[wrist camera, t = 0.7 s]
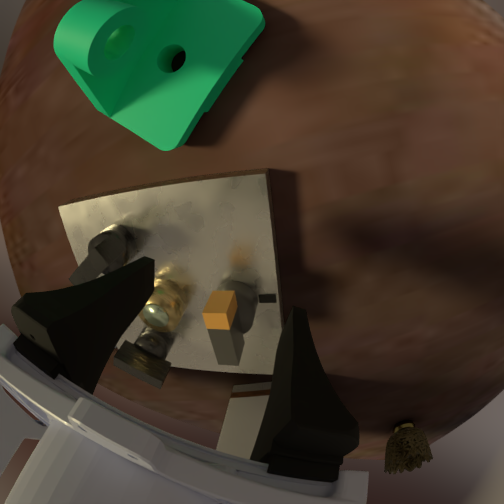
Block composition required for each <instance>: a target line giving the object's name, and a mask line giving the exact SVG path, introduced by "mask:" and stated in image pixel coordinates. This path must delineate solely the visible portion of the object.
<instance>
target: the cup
mask: <svg viewBox="0 0 504 504" xmlns="http://www.w3.org/2000/svg"><path fill="white" fill-rule="evenodd" d="M393 433H394V434H393V435H392V436H391V437H390V438H389V440H388V442H387V446H386V453H385V470H384V472H385V473H386V472H387V471H388V472H389V474H391V472H393V474H396V472H397V470H398V469H399V471H400V473H402V472H403V471H404V469H406V470H407V471H412V470H414V468H416V466H417V468H421V466H422V461H425V460H426V461H427V462H430V459H433V457H432V454H431V450H430V447H429V444H428V441H427V438H426V436H425V434H424V432H423V431H422V430H421V429H419V428H416V427H415V424H414V422H413V421H411V420H406V421H402V422H400V423H398V424H396V425H395V426H394V428H393Z"/></svg>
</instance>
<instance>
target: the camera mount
mask: <svg viewBox="0 0 504 504" xmlns="http://www.w3.org/2000/svg"><path fill="white" fill-rule="evenodd" d="M264 27H265V20H264V17H263V15H262V13H261V11H260V9H259V8H257V7H256V6H254V5H252V4H250V3H247V2H245V1H243V0H82V1H80V2H79V3H77V4H76V5H75V6H73V7H72V8H71V9H70V10H69V11H68V12H67V13H66V14H65V16H64V17H63V18H62V20H61V22H60V23H59V25H58V27H57V30H56V33H55V36H54V50H55V53H56V55H57V56H58V58H59V59H60V61H61V62H62V63H63V65H64V66H65V67H66V69H67V70H68V71H69V73H70V74H71V76H72V77H73V78H74V80H75V81H76V82H77V84H78V85H79V86H80V88H81V89H82V90H83V92H84V93H85V94H86V96H87V97H88V98H89V100H90V101H91V102H92V104H93V105H94V106H95V107H96V109H97V110H98V111H100V112H102V113H103V114H105V115H107V116H108V117H110V118H111V119H113V120H115V121H116V122H118V123H119V124H121V125H123V126H124V127H126V128H127V129H129V130H131V131H132V132H134V133H135V134H137V135H138V136H140V137H142V138H143V139H145V140H146V141H148V142H149V143H151V144H152V145H154V146H156V147H157V148H159V149H160V150H163V151H169V150H172V149H175V148H178V147H180V146H182V145H183V144H185V142H186V141H187V139H188V137H189V136H190V134H191V132H192V131H193V129H194V127H195V126H196V124H197V123H198V121H199V119H200V118H201V116H202V115H203V113H204V112H208V111H209V110H210V108H211V107H212V105H213V104H214V102H215V101H216V99H217V98H218V96H219V95H220V93H221V92H222V90H223V89H224V87H225V86H226V84H227V83H228V81H229V80H230V79H231V77H232V76H233V74H234V73H235V72H236V70H237V69H238V68H239V66H240V65H241V63H242V62H243V60H242V59H241V58H242V56H243V55H244V54H245V52H246V51H247V50H248V49H249V47H250V46H251V45H252V43H253V42H254V41H255V40H256V38H257V37H258V36H259V35H260V33H261V32H262V31H263V29H264ZM181 51H185V53H186V60H185V62H184V64H183V66H182V67H181V68H180V69H179V70H177V71H175V72H173V70H172V67H171V64H172V60H173V58H174V57H175V55H176V54H178V53H179V52H181Z"/></svg>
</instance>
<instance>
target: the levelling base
mask: <svg viewBox="0 0 504 504" xmlns="http://www.w3.org/2000/svg"><path fill="white" fill-rule="evenodd" d="M58 208H59V211H60V214H61V218H62V221H63V224H64V227H65V230H66V233H67V236H68V239H69V242H70V244H71V247H72V250H73V253H74V255H75V258H76V261H77V263H78V266H79V267H78V268H77V269H76V270H75V272H74V273H73V274H72V275H71V277H70V278H69V280H70V281H71V283H72V284H73V285H74V286H75V285H79V284H82V283H85V282H88V281H91V280H94V279H96V278H98V277H101V276H103V275H105V274H108V273H110V272H112V271H114V270H117V269H119V268H121V267H123V266H125V265H127V264H129V263H131V262H133V261H135V260H137V259H139V258H141V257H144V256H146V257H149V258H152V259H154V260H155V276H154V291H153V293H152V295H151V297H150V298H149V300H148V302H147V303H146V305H145V306H144V308H143V309H142V310H141V312H140V313H139V314H138V316H137V317H136V318H135V319H134V321H133V322H132V323H131V325H130V326H129V327H128V328H127V330H126V331H125V332H124V334H123V335H122V337H121V338H120V340H119V341H118V343H117V345H116V346H117V348H118V351H117V353H116V354H115V356H114V366H116V367H118V368H120V369H122V370H123V371H125V372H127V373H129V374H131V375H133V376H135V377H137V378H139V379H141V380H143V381H145V382H147V383H149V384H151V385H153V386H155V387H157V388H159V389H161V387H162V385H163V383H164V380H165V378H166V376H167V374H168V372H169V370H170V367H171V366H172V367H180V368H188V369H197V370H207V371H218V372H231V373H248V374H273V369H274V363H275V356H276V350H277V346H278V342H279V339H280V335H281V332H282V330H283V328H284V317H283V305H282V293H281V282H280V272H279V261H278V251H277V241H276V231H275V222H274V212H273V203H272V194H271V185H270V177H269V168H265V169H254V170H244V171H234V172H226V173H217V174H209V175H201V176H194V177H187V178H180V179H174V180H167V181H161V182H155V183H150V184H144V185H138V186H133V187H128V188H123V189H118V190H113V191H108V192H103V193H99V194H94V195H90V196H85V197H81V198H77V199H73V200H70V201H68V202H66V203H64V204H62V205H61V206H59V207H58ZM229 281H238V282H242V283H244V284H246V285H248V286H249V287H251V288H252V289H253V290H254V292H255V293H256V295H257V298H258V305H257V309H256V313H255V317H254V321H253V325H252V327H251V329H250V330H249V331H248V332H247V333H245V334H243V337H244V342H245V344H244V348H243V352H242V355H241V359H240V363H239V366H231V365H218V362H217V359H216V356H215V353H214V350H213V346H212V343H211V340H210V337H209V333H208V330H207V328H206V325H205V322H204V318H203V315H202V312H203V310H204V307H205V305H206V303H207V301H208V299H209V297H210V295H211V293H212V291H216V290H217V288H218V287H219V286H220V285H221V284H223V283H225V282H229Z"/></svg>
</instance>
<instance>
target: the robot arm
mask: <svg viewBox="0 0 504 504" xmlns="http://www.w3.org/2000/svg"><path fill="white" fill-rule="evenodd" d="M154 276H155V260H154V259H152V258H149V257H146V256H144V257H141V258H139V259H137V260H135V261H133V262H131V263H129V264H127V265H125V266H123V267H121V268H119V269H117V270H114V271H112V272H110V273H108V274H105V275H103V276H101V277H98V278H96V279H94V280H91V281H88V282H85V283H82V284H79V285H75V286H71V287H67V288H63V289H59V290H53V291H46V292H35V293H26V294H25V295H24V296H23V297H21V298H20V299H19V300H18V301H17V302H16V303H15V304H14V305H13V306H12V309H11V312H12V316H13V318H14V321H15V323H16V325H17V327H18V329H19V331H20V333H21V335H20V336H19V337H17V336H16V335H15V334H14V333H13V332H12V331H11V330H10V329H9V328H8V327H7V326H5V325H4V324H2V325H1V326H0V477H1V475H2V473H3V472H4V470H5V468H6V466H7V465H8V463H9V462H10V460H11V458H12V456H13V455H14V453H15V452H16V450H17V449H18V447H19V445H20V444H21V442H22V441H23V439H24V438H30V439H39V440H40V441H39V443H38V445H37V446H36V448H35V450H34V451H33V453H32V455H31V456H30V458H29V460H28V461H27V463H26V465H25V467H24V468H23V470H22V472H21V474H20V475H19V477H18V479H17V481H16V483H15V484H14V486H13V488H12V490H11V492H10V494H9V496H8V498H7V500H6V501H5V504H366V501H367V490H368V474H369V473H368V472H367V471H354V470H342V471H339V467H340V465H342V463H343V456H345V455H347V454H348V453H350V452H351V451H353V450H354V449H355V448H357V447H358V445H359V427H358V422H357V421H356V420H355V419H354V417H353V416H352V415H351V414H350V413H349V411H348V410H347V409H346V408H345V406H344V405H343V403H342V402H341V401H340V399H339V397H338V396H337V394H336V392H335V391H334V389H333V388H332V386H331V384H330V382H329V380H328V378H327V376H326V374H325V372H324V370H323V367H322V365H321V363H320V360H319V357H318V355H317V352H316V349H315V346H314V342H313V339H312V335H311V332H310V327H309V323H308V318H307V312H306V310H305V309H301V308H298V307H295V306H293V307H292V310H291V312H290V314H289V317H288V319H287V321H286V323H285V326H284V328H283V330H282V332H281V335H280V339H279V342H278V346H277V350H276V356H275V363H274V369H273V376H272V383H271V389H270V394H269V398H268V402H267V406H266V409H265V413H264V416H263V419H262V423H261V426H260V429H259V432H258V436H257V439H256V442H255V445H254V448H253V451H252V453H251V456H250V459H245V458H241V457H237V456H234V455H230V454H227V453H224V452H220V451H217V450H214V449H211V448H208V447H205V446H202V445H199V444H196V443H193V442H191V441H188V440H185V439H183V438H180V437H177V436H175V435H172V434H170V433H167V432H165V431H162V430H160V429H158V428H156V427H153V426H151V425H149V424H147V423H145V422H142V421H140V420H138V419H136V418H134V417H132V416H130V415H128V414H126V413H124V412H122V411H120V410H118V409H116V408H114V407H113V406H111V405H109V404H107V403H105V402H104V401H102V400H100V399H98V398H96V397H95V396H93V392H94V390H95V387H96V384H97V382H98V380H99V378H100V376H101V373H102V371H103V369H104V367H105V365H106V363H107V361H108V359H109V357H110V355H111V353H112V352H113V350H114V348H116V347H117V346H116V345H117V343H118V341H119V340H120V338H121V337H122V335H123V334H124V332H125V331H126V330H127V328H128V327H129V326H130V325H131V323H132V322H133V321H134V319H135V318H136V317H137V316H138V314H139V313H140V312H141V310H142V309H143V308H144V306H145V305H146V303H147V302H148V300H149V298H150V297H151V295H152V293H153V291H154ZM2 386H4V387H5V389H7V391H9V392H10V393H11V394H12V395H13V396H14V397H15V398H16V399H17V400H18V401H19V402H20V403H21V404H22V405H23V406H24V407H26V408H27V409H28V410H29V411H30V412H31V413H32V414H33V415H35V416H36V417H37V418H38V419H39V420H40V421H37V420H34V419H33V418H31V417H30V416H29V415H28V414H27V413H25V412H24V411H23V410H22V409H21V408H20V407H19V406H18V405H17V404H16V403H15V402H14V401H13V400H12V399H11V398H10V397H9V396H8V395H7V394H6V393H5V391H4V390H3V388H2Z"/></svg>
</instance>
